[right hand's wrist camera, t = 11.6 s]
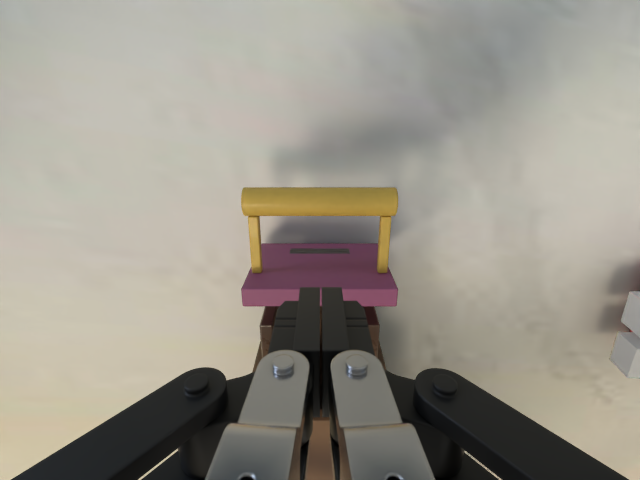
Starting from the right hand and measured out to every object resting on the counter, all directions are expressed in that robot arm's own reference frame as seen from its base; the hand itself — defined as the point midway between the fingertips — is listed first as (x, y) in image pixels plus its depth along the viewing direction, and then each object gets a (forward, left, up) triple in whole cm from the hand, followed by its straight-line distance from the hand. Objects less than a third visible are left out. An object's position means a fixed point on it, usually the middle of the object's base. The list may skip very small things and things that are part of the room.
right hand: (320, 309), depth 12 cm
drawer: (-7, -4, -14) cm, 16 cm away
